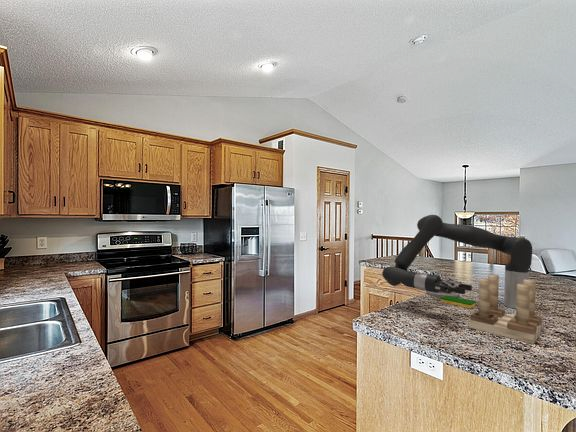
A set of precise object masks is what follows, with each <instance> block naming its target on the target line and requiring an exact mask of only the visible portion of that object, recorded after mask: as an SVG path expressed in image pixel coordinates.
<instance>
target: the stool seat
mask: <svg viewBox="0 0 576 432" xmlns="http://www.w3.org/2000/svg"><path fill="white" fill-rule="evenodd" d="M487 279H491V291H490V318H486V317H481V316H478V310H475V311H474V312H472V313H471V314H470V315H469V317H470V318H469V321H468V322H469V323H468V328H469V329H474V330H478V331H482V332H484V333H485V332H486V333H490V334H493V335H498V336H502V337H505V338H509V339H513V340H518V341H521V342H526V343H529V344H533V345H534V344H535V343H536V341H537V339H538V337H539V336H540V334H541V333H542V331H543V330H544V329H543V328H544V323H543V322H544V321H543V316H542V315H538V314H536V313H535V312H536V288H537V287H536V284H537V282H536V280H535V279H529V278H528V279H523V284H517V299H516V309H515V314H509V313H506V308H502V307H499V291H500V290H499V289H500V288H499V286H500V285H499V284H500V280H499V279H500V275H499V274H493V273H488V274H487Z"/></svg>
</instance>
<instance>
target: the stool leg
mask: <svg viewBox="0 0 576 432" xmlns="http://www.w3.org/2000/svg"><path fill="white" fill-rule="evenodd" d="M478 280H479V281H478V307H477V309H478V310H477V311H478V316H481V317H486V318H490V291H491V279H488V277H487V278H485V277H481V278H480V277H479V278H478Z"/></svg>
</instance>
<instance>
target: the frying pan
mask: <svg viewBox="0 0 576 432" xmlns="http://www.w3.org/2000/svg"><path fill="white" fill-rule="evenodd" d="M425 292H426V294H427V295H429V296H432V297H436V298H437V297H438V298H441V297H444V296H446V295H447V296H452V297H456V298H459V296H460V294H459V293H445V292H440V291H439V292H438V293H433V292H428V291H425Z"/></svg>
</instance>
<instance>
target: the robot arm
mask: <svg viewBox="0 0 576 432" xmlns="http://www.w3.org/2000/svg"><path fill="white" fill-rule="evenodd" d="M416 227H417V229H418V232H417V233H416V235H415V236H414V237H413V238H412V239H411V240H410V241H409V242H408V243H407V244H406V245H405V246H404V247H403V248H402V249H401V251H400V252H399V254H398V255H397V256H396V257H395V259H394V263H395V265H394V266H392V265H391V266H386V267H384V268H383V269H382V273H381V274H382V278H383V279H384V280H385V281H386V282H387V283H388V284H389V285H390V286H391V287H392V286H393V287H397V286H399V285H400V284H402V285H404V287H408V288H413V289H416V290H420V291H425V292H426V291H428V292H433V293H438V292H439V291H440V292H445V293H459V295H460V294H461V295H465V294H466V291H472V290H473V286H472V285H471V284H468V283H467V284H466V283H463V282H462V281H457V280H449V279H445V280H442V277H441V276H440V275H437V274H431V273H424V272H415V271H410V270H409V271H408V269H409V267H410V266H411V265H412V263H413V262H414V261H415V259H416V258H417V257H418V255H419V254H420V252H422V250H423V248H424V247H425V246H427V244H428V243H429V242H430V241H431V240H432V239H433V238H434V237H438V238H444V239H447V240H451V241H455V242H457V243H461V244H464V245H468V246H472V247H476V248H477V247H478V248H483V249H491V250H495V251H498V252H501V253H504V254H507V255H509V256H510V259H509V260H510V261H509V262H508V263H505V265H504V293H503V294H504V296H503V306H505V307H507V308H511V309H515V310H516V299H517V284H523V279H529V275H530V273H529V272H530V268H531V266H532V261H533V260H532V258H533V245H532V243H531V241H530V240H529V239H527V238H524V237H517V236H506V235H500V234H495V233H494V232H491V231H489V230H486V229H484V228H480V227H477V226H472V225H467V224H461V223H460V224H459V223H447V222H443V220H442V218H441V217H440V216H439V215H437V214H429V215H425V216H424V217H422V218H421V217H420V219H419V220H418V221H417V223H416Z"/></svg>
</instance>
